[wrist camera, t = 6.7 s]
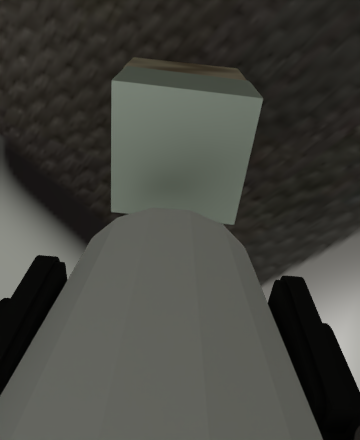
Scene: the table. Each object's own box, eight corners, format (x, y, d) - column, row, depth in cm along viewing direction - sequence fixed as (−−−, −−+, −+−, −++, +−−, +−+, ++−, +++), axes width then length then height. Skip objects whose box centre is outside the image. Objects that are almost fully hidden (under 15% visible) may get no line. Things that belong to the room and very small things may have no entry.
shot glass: (184, 370, 14) (183, 642, 8) (26, 293, 12) (-137, 589, 6) (316, 267, 11) (472, 578, 5) (137, 139, 9) (38, 420, 3)
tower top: (249, 80, 22) (263, 98, 18) (226, 189, 27) (234, 224, 22) (126, 65, 22) (111, 80, 18) (123, 178, 26) (111, 211, 22)
